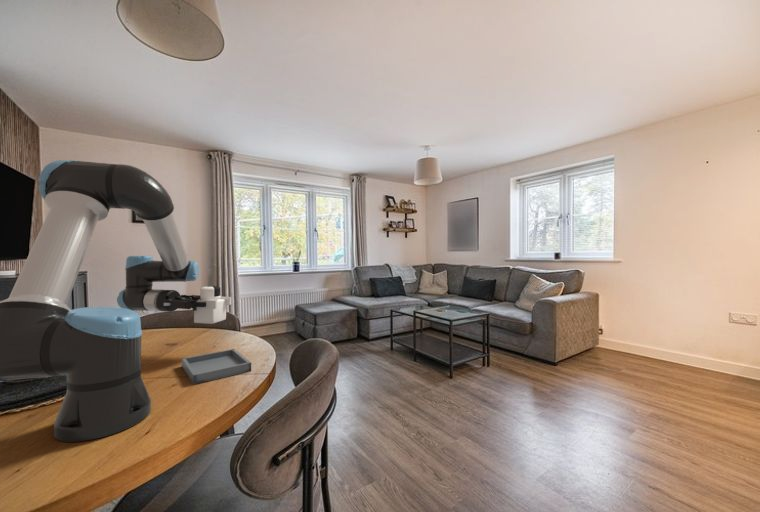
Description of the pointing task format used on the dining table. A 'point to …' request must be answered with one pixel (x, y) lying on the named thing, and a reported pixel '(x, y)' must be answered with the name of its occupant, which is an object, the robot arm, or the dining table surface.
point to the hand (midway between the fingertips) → (223, 302)
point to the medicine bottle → (210, 314)
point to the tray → (215, 365)
